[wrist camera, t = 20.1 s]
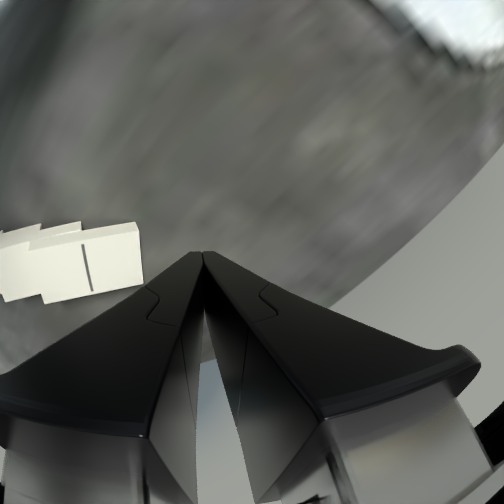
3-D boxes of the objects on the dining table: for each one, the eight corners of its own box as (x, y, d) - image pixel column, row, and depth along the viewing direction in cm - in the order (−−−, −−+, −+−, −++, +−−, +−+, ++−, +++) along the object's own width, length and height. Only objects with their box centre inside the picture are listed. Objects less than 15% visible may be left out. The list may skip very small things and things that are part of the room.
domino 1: (139, 273, 24) (45, 292, 20) (135, 221, 22) (30, 240, 17) (143, 283, 23) (44, 304, 18) (139, 230, 20) (27, 251, 16)
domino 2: (91, 271, 23) (7, 291, 19) (80, 220, 21) (-11, 243, 16) (92, 281, 22) (5, 302, 17) (81, 229, 19) (-15, 252, 15)
